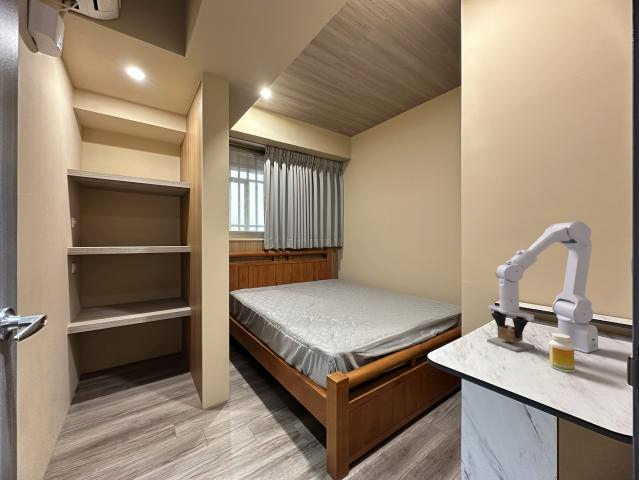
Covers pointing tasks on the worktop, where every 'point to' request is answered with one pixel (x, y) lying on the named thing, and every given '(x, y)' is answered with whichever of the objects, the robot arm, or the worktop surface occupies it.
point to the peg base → (511, 344)
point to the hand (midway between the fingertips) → (509, 335)
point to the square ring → (508, 334)
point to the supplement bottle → (561, 353)
